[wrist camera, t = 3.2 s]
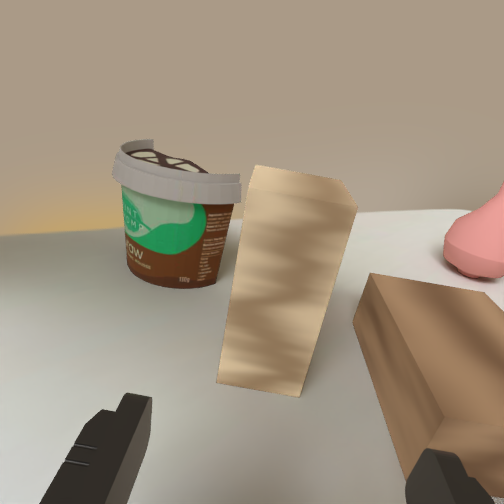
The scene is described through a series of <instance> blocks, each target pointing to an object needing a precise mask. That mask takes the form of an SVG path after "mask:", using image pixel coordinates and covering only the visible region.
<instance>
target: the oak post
mask: <svg viewBox="0 0 504 504" xmlns="http://www.w3.org/2000/svg"><path fill="white" fill-rule="evenodd" d="M357 209H358V206H357V205H356V203H355V202H354V200H353V198H352V197H351V195H350V194H349V192H348V190H347V189H346V187H345V185H344V184H343V182H342V181H341V180H337V179H332V178H326V177H320V176H315V175H310V174H304V173H298V172H294V171H288V170H282V169H277V168H272V167H266V166H260V165H255V168H254V172H253V174H252V178H251V181H250V184H249V187H248V193H247V199H246V205H245V212H244V217H243V223H242V230H241V236H240V242H239V248H238V254H237V260H236V266H235V272H234V278H233V284H232V291H231V297H230V303H229V309H228V315H227V321H226V327H225V333H224V339H223V346H222V352H221V358H220V364H219V370H218V376H217V382H216V383H221V384H227V385H232V386H238V387H243V388H249V389H254V390H260V391H265V392H271V393H277V394H282V395H288V396H293V397H300V394H301V391H302V387H303V384H304V381H305V378H306V374H307V371H308V368H309V365H310V361H311V358H312V355H313V352H314V348H315V345H316V342H317V339H318V335H319V332H320V329H321V326H322V322H323V319H324V316H325V313H326V310H327V306H328V303H329V300H330V297H331V293H332V290H333V287H334V284H335V280H336V277H337V274H338V271H339V267H340V264H341V261H342V258H343V254H344V251H345V248H346V245H347V241H348V238H349V235H350V232H351V229H352V225H353V222H354V219H355V216H356V212H357Z"/></svg>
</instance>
